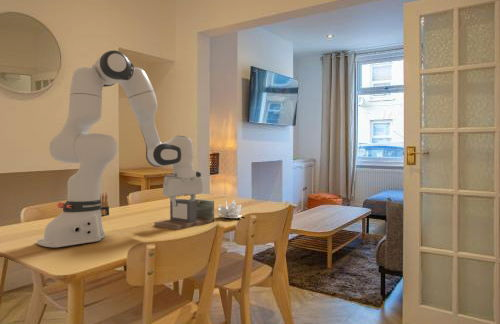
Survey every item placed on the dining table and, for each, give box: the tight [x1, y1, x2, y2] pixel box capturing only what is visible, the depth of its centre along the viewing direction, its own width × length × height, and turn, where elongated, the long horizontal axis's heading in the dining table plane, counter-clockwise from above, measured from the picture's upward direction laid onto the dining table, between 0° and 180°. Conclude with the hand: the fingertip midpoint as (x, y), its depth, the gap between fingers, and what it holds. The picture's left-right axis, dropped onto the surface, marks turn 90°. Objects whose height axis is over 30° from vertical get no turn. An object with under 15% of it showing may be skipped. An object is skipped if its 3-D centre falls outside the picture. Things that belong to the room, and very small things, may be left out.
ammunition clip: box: [100, 191, 110, 218], centre depth 173 cm, size 11×2×12 cm, turn 150°
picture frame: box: [169, 198, 196, 223], centre depth 158 cm, size 4×12×9 cm, turn 54°
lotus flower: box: [214, 199, 245, 219], centre depth 174 cm, size 14×15×9 cm
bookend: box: [154, 198, 215, 231], centre depth 159 cm, size 22×14×10 cm, turn 144°
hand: (183, 205), depth 158 cm, fingers open, 8 cm apart
